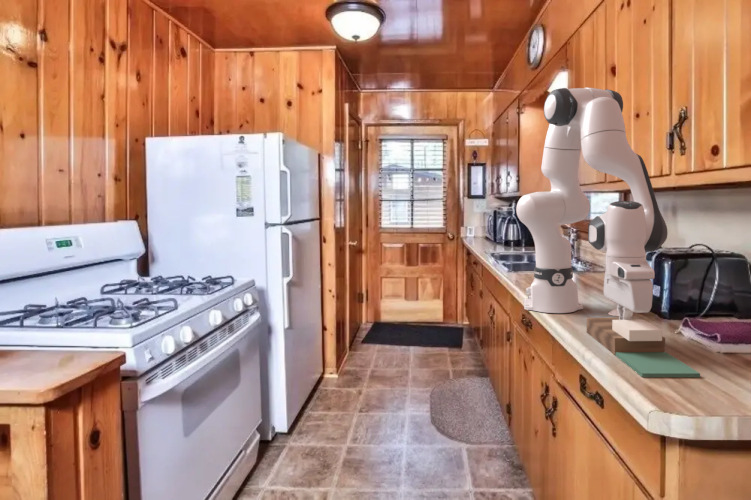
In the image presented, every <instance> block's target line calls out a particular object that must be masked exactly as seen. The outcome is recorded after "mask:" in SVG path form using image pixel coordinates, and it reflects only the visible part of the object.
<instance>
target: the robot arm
mask: <svg viewBox="0 0 751 500" xmlns="http://www.w3.org/2000/svg"><path fill="white" fill-rule="evenodd" d="M623 109H624V101H623V97H622V95H621V94H620V93H619V92H618V91H615V90H612V89H608V88H607V89H601V88H595V87H584V88H582V87H576V88H573V87H572V88H567V87H562V88H561V87H560V88H556V89H553V90H551V92H550V93H549V94H548V95H547V97H546V99H545V100H544V105H543V115H544V118H545V120H546V121H547V123H549V124H548V128H547V132H546V134H545V135H546V136H545V141H544V146H543V152H542V158H541V159H542V160H541V166H540V167H541V168H540V170H541V173H542V175H543V176H544V177H545V178H546V179H548V180H549V183H550V191H535V192H531V193H527V194H524V195H522V196H521V197H520V198H519V200H518V201H517V203H516V209H515V211H516V216H517V218H518V219H519V222H521V223H522V224H523V225H525V227H526V228H527V229H528V231H529V232H530V234H531V236H532V239H533V243H534V249H535V250H534V252H535V266H534V270H533V273H534V274H533V277H534V279H533V280H532V283H531V284H530V286H528V287H526V288H525V295H528V296H527V297H526V298H524V301H523V302H524V303H523V304H524V305H523V309H524V310H527V311H534V312H540V313H549V314H568V313H573V312H576V311H580V310H584V306H583V304H580V303H579V291H578V284H577V282H576V281H574V280H573V278H574V268H573V266H572V244H571V242H570V241H569V239H567V238H565V237H564V236H563V235H562V234H561V232H560V228H559V225H572V224H575V223H579V222H581V221H584V220H585V219H587V217H588V215H589V213H590V211H591V204H590V200H589V198H588V196H587V195H586V194H585V193H584V192H583V191H582V188H581V184H580V181H579V167H580V158H581V153H582V157H583V160H584V162H586V164H587V165H588V166H589V167H591V168H592V169H594V170H596V171H598V172H600V173H604V174H607V175H610V176H614V177H616V178H618V179H621V180H622V181H623V182H625V184H627V186H629V190H630V193H631V195H632V199H633V201H631V200H618V201H614V202H613V201H612V202H611V203H609V204H608V205H607V208H606V211H605V212H604V213H602V214H600V215H597V216H595V217H594V218H593V219H592V220H591V221H590V222H589V223H588V226H587V227H588V228H587V238H588V243H589V245H591V246H592V248H594V249H595V250H597V251H602V252H606V253H605V272H604V277H603V296H604V298H605V299H607V300H610V301H611V302H614V303H616V308H617V309H618V313H619V316H618V317H619V320H631V319H632V317H633V315H634V313H637V314H639V313H640V314H641V313H649V312H651V309H652V307H653V296H654V295H653V292H654V291H653V290H654V289H653V288H654V285H653V282H652V280H654V279H655V275H656V274H655V270H654V269H653V268H652V267H651V266H650V264H649V263H648V261H647V253H648V252H649V253H652V252H654V251H656V250H659V248H661V247H662V245H664V243H665V242H666V240H667V238H668V227H667V223H666V220H665V219H664V216H663V214H662V213H661V209H660V207H659V205H658V201H657V199H656V195H655V194H656V193H655V191H654V189H653V184H652V181H651V178H650V174H649V172H648V169H647V166H646V163H645V162H644V159H643V158H642V156H641V155H639V154H638V153H636V152H635V151H634V150H633V149H632V147H631V145H630V144H629V142H628V138H627V133H626V132H627V131H626V125H625V120H624V117H623V112H624V110H623ZM646 252H647V253H646Z"/></svg>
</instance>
